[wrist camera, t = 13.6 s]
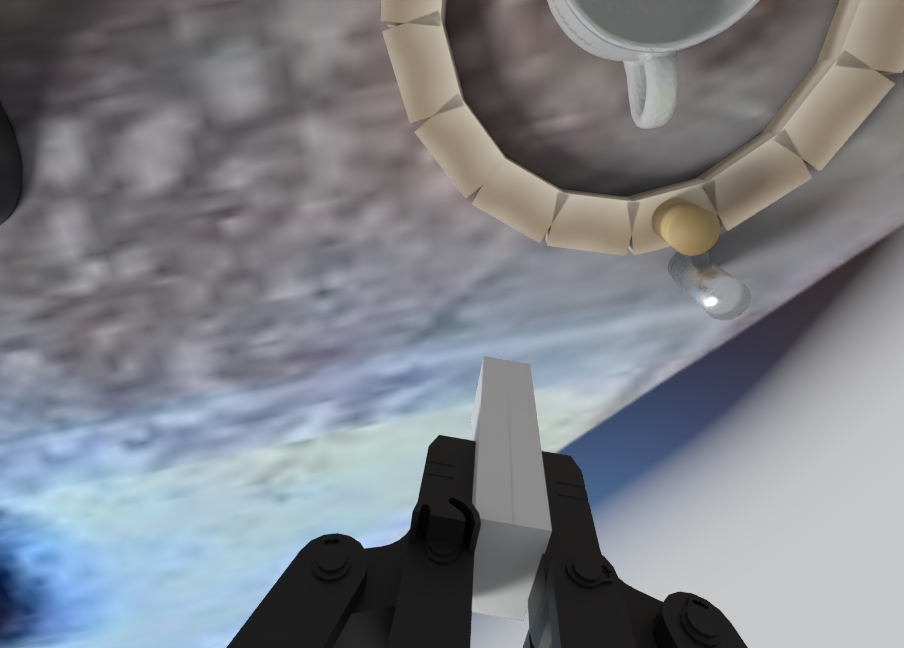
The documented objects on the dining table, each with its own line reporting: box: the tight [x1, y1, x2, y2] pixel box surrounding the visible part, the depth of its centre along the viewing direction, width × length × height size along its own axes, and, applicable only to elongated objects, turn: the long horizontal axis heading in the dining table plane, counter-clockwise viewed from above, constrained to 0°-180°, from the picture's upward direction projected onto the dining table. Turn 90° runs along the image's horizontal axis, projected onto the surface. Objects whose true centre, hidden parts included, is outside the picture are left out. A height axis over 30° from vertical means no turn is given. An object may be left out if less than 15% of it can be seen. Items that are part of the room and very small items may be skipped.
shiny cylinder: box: [668, 251, 750, 320], centre depth 30 cm, size 2×3×7 cm
